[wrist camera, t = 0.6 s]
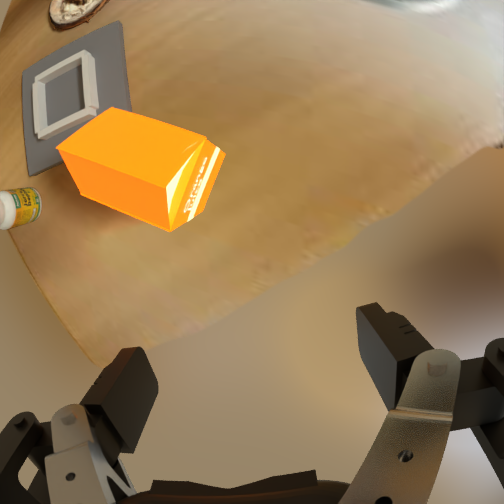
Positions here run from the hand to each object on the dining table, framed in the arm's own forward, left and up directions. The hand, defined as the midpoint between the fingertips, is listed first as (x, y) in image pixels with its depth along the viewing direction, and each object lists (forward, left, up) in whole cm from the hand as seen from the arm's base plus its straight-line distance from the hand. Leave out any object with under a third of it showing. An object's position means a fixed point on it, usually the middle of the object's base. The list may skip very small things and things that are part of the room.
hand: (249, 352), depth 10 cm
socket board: (-24, -21, -28) cm, 42 cm away
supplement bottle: (-11, -32, -28) cm, 44 cm away
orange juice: (-9, -7, -28) cm, 30 cm away
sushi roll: (-43, -19, -28) cm, 55 cm away
